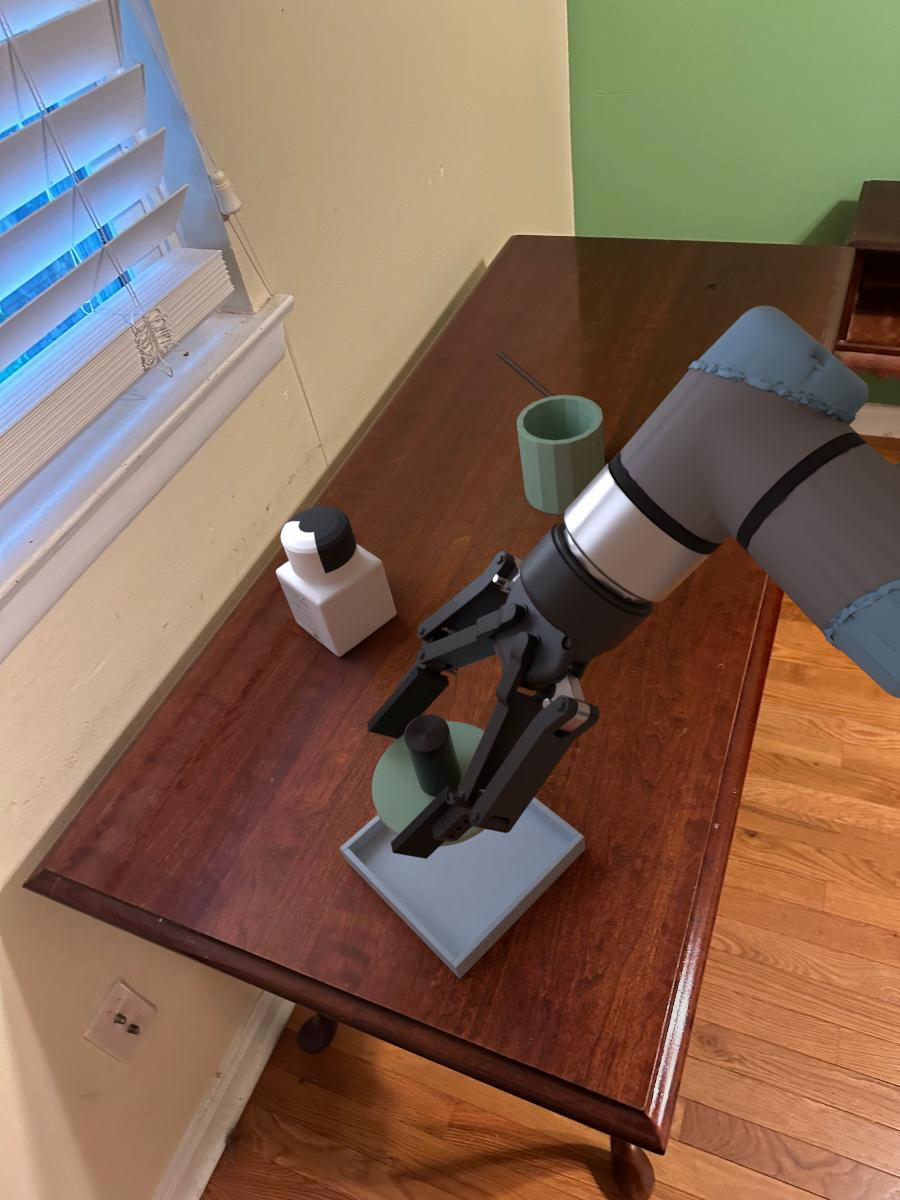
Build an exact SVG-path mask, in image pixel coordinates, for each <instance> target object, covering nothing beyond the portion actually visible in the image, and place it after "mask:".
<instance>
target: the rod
mask: <svg viewBox="0 0 900 1200" xmlns="http://www.w3.org/2000/svg"><path fill="white" fill-rule="evenodd" d="M496 356H498V358H499V359H501V360H502V361H504V362H505V364H507V365H508V366H509V367H510V368H512V369H513V370H514V371H515V372H516V373H517V374H519V376H521V377H522V378H523V379H525V380H526V382H528V383H529V384H530V385H531V386H533V387H534V388H535V389H536V390H537V391H539V392H540V393H541V394H542V395H543V396H544V397H545V398H547V397H550V396H553V394H551V393H550V392H549V391H548V390H547V389H545V388H544V387H543V386H541V384H540V383H539V382H537V381H536V380H535V379H534V378H532V377H531V376H530V375H529V374H527V373H526V372H525V371H524V370H523V369H522V368H520V366H518V365H517V364H516V363H514V362H513V361H512V360H511V359H510V358H509V357H508V356H506V355H505V354H504V353H503V352H502V351H500V350H498V351H497V352H496Z"/></svg>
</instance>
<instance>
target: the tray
mask: <svg viewBox="0 0 900 1200" xmlns="http://www.w3.org/2000/svg"><path fill="white" fill-rule="evenodd" d="M396 837H397V836H396V835H395V834H394V833H393V832H391V831H390V830H389V829H388V828H387V827H386V826H385V824H384V823H383V822H382V820H381V819H380V817H379V815H378V814H377V815H375V816H374V817H373V818H371V820H370V821H369V822H367V823H366V824H365V825H364V826H363V827H362V828H360V830H358V831H357V832H356V833H354V834H353V836H351V837H350V838H349V839H348V840H347V841H345V843H343V844H342V845H341V846H340V847H339V850H340V852H341V854H342V856H343V858H344V861H346V863H347V864H348V865H349V866H350V867H351V868H352V869H353V870H354V871H355V872H356V873H357V874H358V875H359V876H360V877H361V878H362V879H363V880H364V881H365V882H366V884H367V885H368V886H369V887H370V888H371V889H372V890H373V891H374V892H375V893H376V894H377V895H378V896H379V897H380V898H381V899H382V900H383V901H384V902H385V903H386V905H388V906H389V907H390V909H392V911H394V912H395V913H396V915H398V917H399V918H400V919H401V920H402V921H403V922H404V923H405V924H406V925H407V926H408V927H409V928H410V930H412V931H413V932H414V933H415V934H416V935H417V936H418V937H419V938H420V940H421V941H423V943H424V944H425V945H426V946H427V947H428V948H429V949H430V950H431V951H432V952H433V954H435V955H436V956H437V957H438V958H439V959H440V960H441V961H442V963H443V964H445V965H446V966H447V968H449V970H450V971H451V972H452V973H453V974H454V975H455V976H456V977H457V978H458V979H462V978H463V976H465V975H466V973H467V972H469V971H470V969H471V968H473V966H474V965H475V964H476V963H477V962H478V961H479V960H480V959H481V958H482V957H483V956H484V955H485V954H487V952H488V951H489V950H490V949H491V948H492V947H493V946H494V945H495V943H496V942H498V941H499V939H500V938H501V937H502V936H504V934H505V933H506V932H507V931H508V930H509V929H510V928H511V927H512V926H513V925H514V924H515V923H516V922H517V921H518V920H519V919H520V918H521V917H522V915H524V914H525V912H526V911H528V910H529V909H530V907H531V906H532V905H534V903H535V902H536V901H537V900H538V899H539V898H540V897H541V896H542V895H543V894H544V893H545V892H546V891H547V890H548V889H549V888H550V887H551V885H553V884H554V883H555V882H556V880H558V878H560V876H561V875H562V874H563V873H564V872H565V871H567V869H568V868H569V867H570V866H571V865H572V864H573V863H574V862H575V861H576V860H577V859H578V858H579V857H580V856H581V854H583V853H584V852H585V851H586V841H585V840H586V839H585V835H583V834H582V833H580V832H579V830H577V829H575V828H574V827H573V826H572V825H570V824H569V823H568V822H567V821H565V820H564V819H563V818H562V817H561V816H560V815H558V814H556V812H554V811H553V810H552V809H550V808H549V807H548V806H547V805H545V804H544V803H543V802H542V801H540V800H539V799H538V798H537V797H536V796H535V797H534V798H533V800H532V801H531V802H530V804H529V805H528V807H527V808H526V809H525V811H524V812H523V814H522V815H521V817H520V818H519V819H518V821H517V822H516V824H515V825H514V826H513V828H512V829H511V831H510V832H508V833H502V832H497V831H492V830H487V829H485V830H484V831H482V832H481V833H479V834H478V835H476V836H475V837H473V838H470V839H468V840H466V841H464V842H461V843H458V844H454V845H450V846H442V847H439V848H437V849H436V850H435V851H434V852H433V853H432V854H431V855H430V856H429V857H428V858H427V859H424V858H418V857H413V856H407V855H401V854H395V853H393V852H392V847H391V842H392V841H393V840H394V839H395V838H396Z"/></svg>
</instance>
